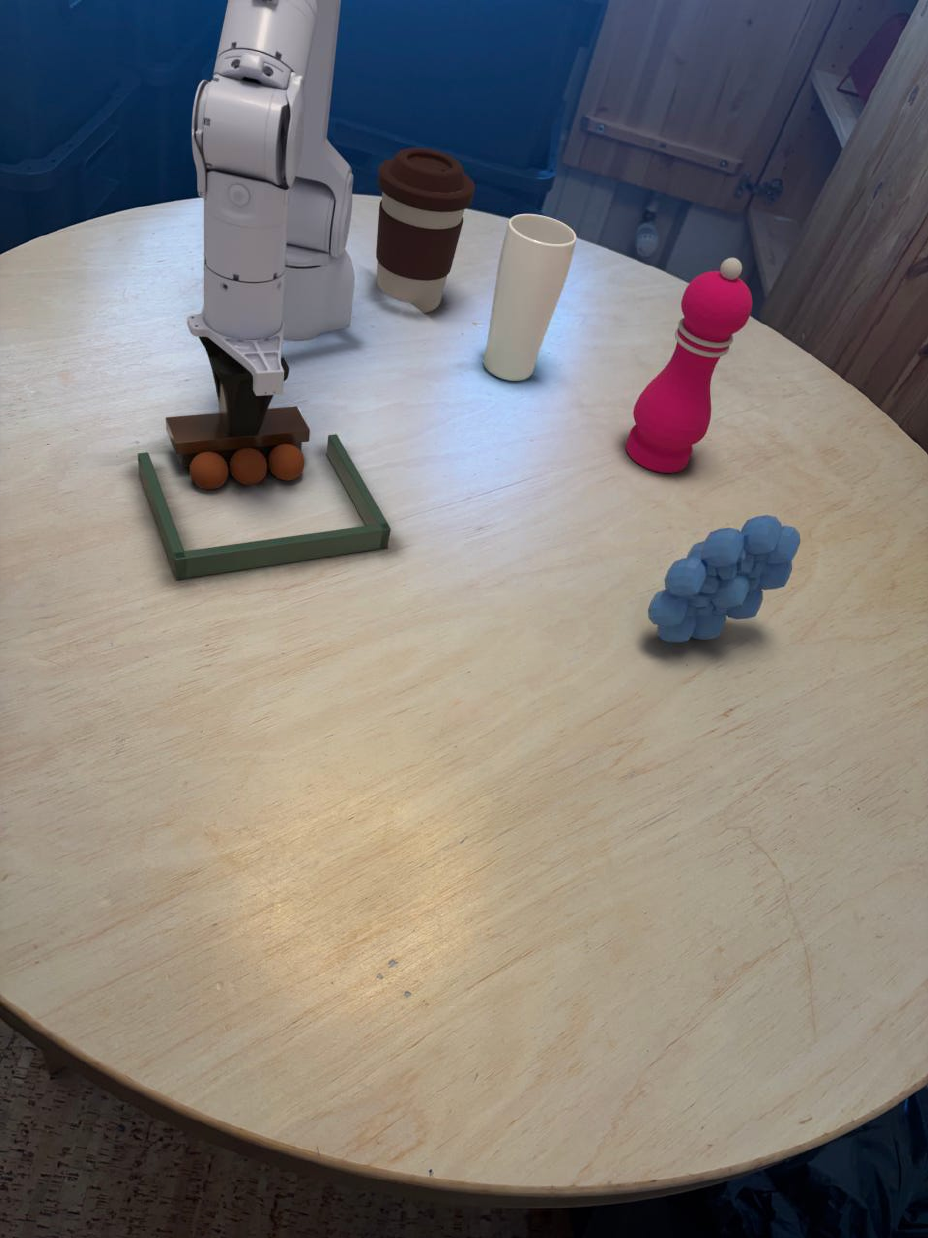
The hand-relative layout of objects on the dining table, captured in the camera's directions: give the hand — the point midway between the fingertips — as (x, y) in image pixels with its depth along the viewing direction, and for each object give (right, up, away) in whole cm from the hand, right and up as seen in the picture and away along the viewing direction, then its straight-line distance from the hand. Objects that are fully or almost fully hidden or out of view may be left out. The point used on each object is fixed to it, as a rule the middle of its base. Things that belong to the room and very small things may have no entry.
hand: (239, 422), depth 78 cm
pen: (+2, -7, -2) cm, 8 cm away
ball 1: (-2, -4, -2) cm, 5 cm away
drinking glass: (+23, +10, +22) cm, 33 cm away
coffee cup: (+12, +20, +28) cm, 36 cm away
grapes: (+36, -17, -2) cm, 40 cm away
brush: (-1, -2, +2) cm, 3 cm away
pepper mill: (+37, 0, +15) cm, 40 cm away
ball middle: (+1, -4, 0) cm, 4 cm away
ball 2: (+4, -3, +1) cm, 5 cm away
